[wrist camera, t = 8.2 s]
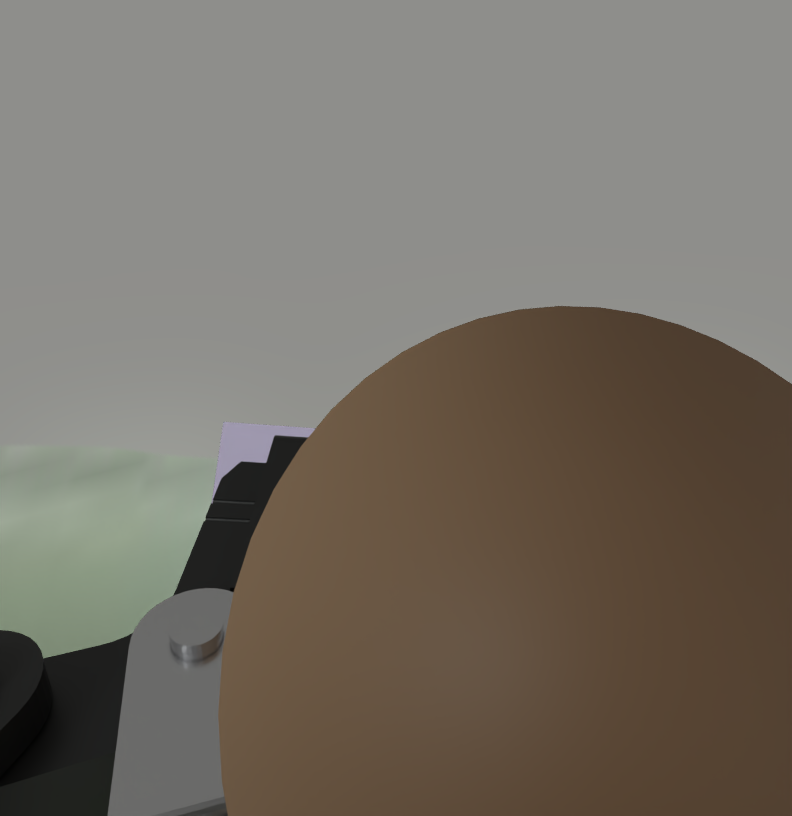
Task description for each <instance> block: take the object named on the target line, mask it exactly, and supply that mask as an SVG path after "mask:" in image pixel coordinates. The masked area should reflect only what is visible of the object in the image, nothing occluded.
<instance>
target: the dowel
mask: <svg viewBox="0 0 792 816" xmlns="http://www.w3.org/2000/svg"><path fill="white" fill-rule="evenodd" d="M218 721H219V739H220V758H221V776H222V785H223V791H224V797H225V802H226V808H227V813H228V816H792V384H791V383H789V382H788V381H786V380H785V379H783V378H782V377H780V376H779V375H777V374H776V373H774V372H773V371H771V370H770V369H768V368H767V367H765V366H764V365H762V364H761V363H759V362H758V361H756V360H754V359H753V358H751V357H749V356H747V355H745V354H743V353H741V352H739V351H738V350H736V349H734V348H732V347H730V346H728V345H726V344H724V343H723V342H720V341H719V340H716V339H713V338H711V337H709V336H706V335H703V334H701V333H699V332H696V331H694V330H691V329H689V328H686V327H684V326H681V325H678V324H674V323H671V322H667V321H664V320H660V319H657V318H653V317H649V316H646V315H642V314H638V313H631V312H625V311H618V310H612V309H606V308H597V307H570V306H555V307H544V308H533V309H522V310H515V311H511V312H507V313H502V314H498V315H493V316H488V317H484V318H479V319H476V320H473V321H471V322H468V323H465V324H462V325H460V326H457V327H454V328H451V329H449V330H446V331H443V332H441V333H438V334H436V335H435V336H432V337H431V338H429V339H427V340H425V341H423V342H421V343H419V344H417V345H415V346H413V347H411V348H409V349H408V350H406V351H404V352H402V353H400V354H399V355H398V356H396V357H395V358H393V359H392V360H390V361H389V362H388V363H386V364H385V365H383V366H382V367H380V368H379V369H378V370H376V371H375V372H374V373H372V374H371V375H369V376H368V377H366V378H365V379H364V380H363V381H362V382H361V383H360V384H359V385H358V386H356V387H355V388H354V389H353V390H352V391H351V392H350V393H349V394H348V395H347V396H346V397H345V398H343V399H342V400H341V401H340V402H339V403H338V404H337V405H336V406H335V407H334V408H333V409H332V410H331V411H330V412H329V413H328V414H327V416H326V417H325V418H324V419H323V421H322V422H321V423H320V424H319V425H318V426H317V428H316V429H315V430H314V431H313V432H312V434H311V435H310V436H309V437H308V438H307V440H306V441H305V442H304V443H303V445H302V446H301V447H300V449H299V450H298V452H297V453H296V455H295V457H294V458H293V460H292V461H291V463H290V465H289V466H288V468H287V469H286V471H285V472H284V474H283V476H282V477H281V479H280V480H279V482H278V484H277V485H276V487H275V488H274V490H273V492H272V494H271V496H270V499H269V501H268V503H267V505H266V507H265V509H264V511H263V514H262V516H261V518H260V520H259V522H258V524H257V527H256V529H255V531H254V533H253V535H252V537H251V540H250V543H249V546H248V549H247V552H246V555H245V559H244V562H243V565H242V568H241V571H240V574H239V577H238V580H237V584H236V587H235V590H234V593H233V598H232V604H231V609H230V614H229V619H228V625H227V630H226V635H225V640H224V646H223V651H222V665H221V680H220V695H219V710H218Z"/></svg>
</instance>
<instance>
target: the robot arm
mask: <svg viewBox="0 0 792 816" xmlns="http://www.w3.org/2000/svg"><path fill="white" fill-rule="evenodd" d="M307 438H308V437H295V436H280V435H275V436H274V438H273V442H272V445H271V448H270V452H269V455H268V459H267V462H266V463H259V462H243V461H241V462H240V463H239V464H237V465H236V466H235V467H234V468H233V469H232V470H230V471H229V472H228V473H227V474H226V475H225V476H223V477H222V478H221V481H220V483H219V485H218V488H217V490H216V493H215V495H214V498H213V503H211V505H210V508H209V510H208V513H207V515H206V520H205V521H204V522H203V525H202V527H201V530H200V532H199V535H198V537H197V540H196V542H195V544H194V547H193V549H192V552H191V554H190V557H189V559H188V562H187V564H186V567H185V569H184V572H183V574H182V576H181V579H180V581H179V584H178V586H177V589H176V591H175V593H174V595H173V596H172V597H170V598H168V599H166V600H164V601H163V602H161V603H159V604H158V605H156V606H155V607H154V608H153V609H151V610H150V611H149V612H148V613H147V614H146V615H145V616H144V617H143V618H142V619H141V621H140V622H139V624H138V625H137V626H136V628H135V630H134V632H133V633H132V634H130V635H128V636H126V637H124V638H121V639H119V640H116V641H114V642H110V643H107V644H103V645H100V646H95V647H91V648H87V649H82V650H78V651H74V652H70V653H65V654H61V655H57V656H52V657H48V658H44V659H43V656H42V653H41V650H40V648H39V647H38V645H37V644H36V643H35V642H34V641H33V640H32V639H31V638H29V637H27V636H25V635H23V634H20V633H16V632H12V631H3V630H0V816H228V813H227V808H226V802H225V797H224V791H223V785H222V776H221V758H220V739H219V721H218V710H219V695H220V680H221V665H222V651H223V646H224V640H225V635H226V630H227V625H228V619H229V614H230V609H231V604H232V598H233V593H234V590H235V587H236V584H237V580H238V577H239V574H240V571H241V568H242V565H243V562H244V559H245V555H246V552H247V549H248V546H249V543H250V540H251V537H252V535H253V533H254V531H255V529H256V527H257V524H258V522H259V520H260V518H261V516H262V514H263V511H264V509H265V507H266V505H267V503H268V501H269V499H270V496H271V494H272V492H273V490H274V488H275V487H276V485H277V484H278V482H279V480H280V479H281V477H282V476H283V474H284V472H285V471H286V469H287V468H288V466H289V465H290V463H291V461H292V460H293V458H294V457H295V455H296V453H297V452H298V450H299V449H300V447H301V446H302V445H303V443H304V442H305V441H306V440H307Z"/></svg>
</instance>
